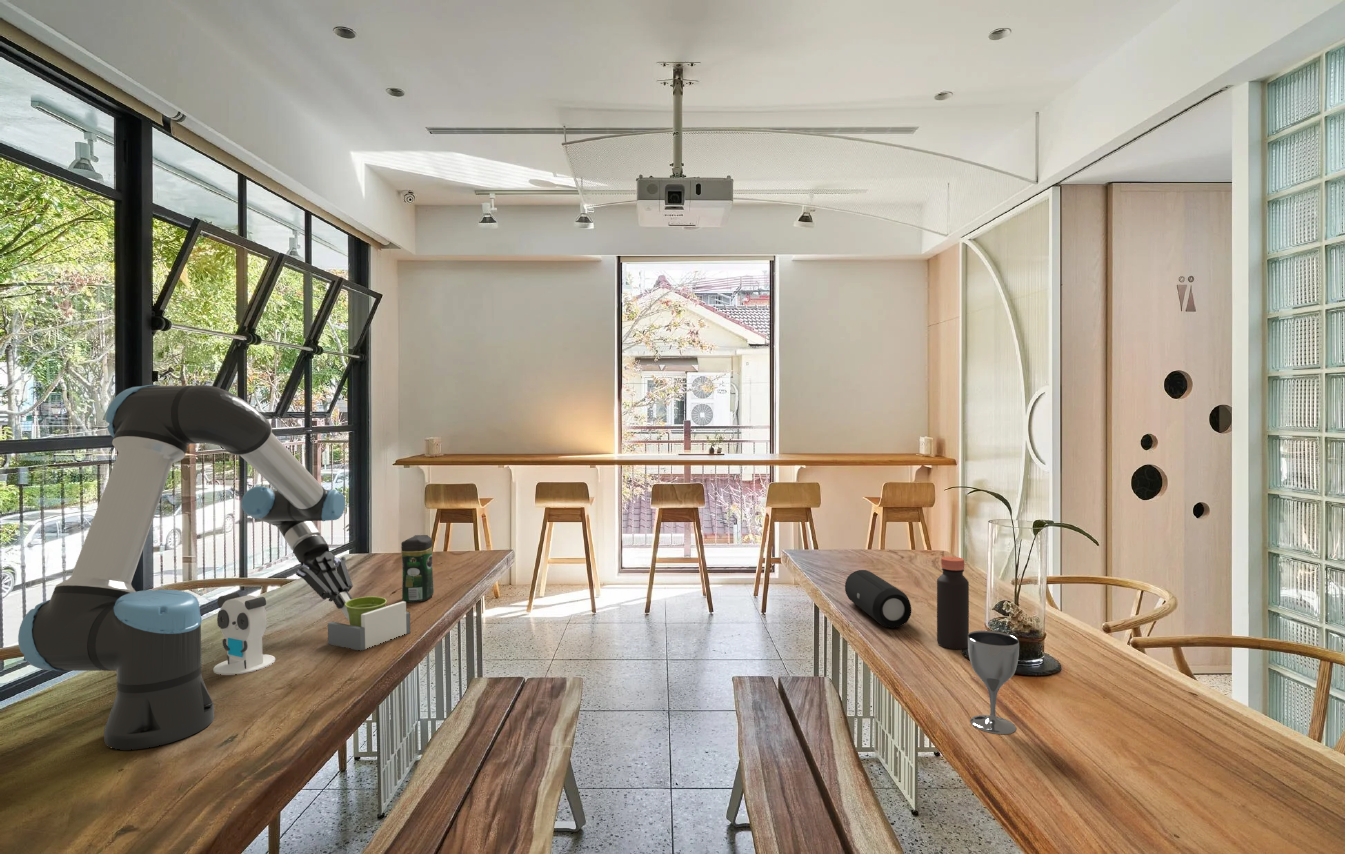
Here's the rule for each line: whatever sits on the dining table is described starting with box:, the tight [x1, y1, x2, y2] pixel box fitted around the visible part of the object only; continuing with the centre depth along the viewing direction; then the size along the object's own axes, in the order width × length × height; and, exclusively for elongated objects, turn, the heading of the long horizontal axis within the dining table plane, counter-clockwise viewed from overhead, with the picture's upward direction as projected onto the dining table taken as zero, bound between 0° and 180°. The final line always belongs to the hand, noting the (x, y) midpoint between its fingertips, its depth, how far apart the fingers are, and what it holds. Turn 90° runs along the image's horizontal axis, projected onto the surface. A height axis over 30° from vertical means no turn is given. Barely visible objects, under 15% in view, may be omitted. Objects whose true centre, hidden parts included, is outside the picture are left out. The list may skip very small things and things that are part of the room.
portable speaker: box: [844, 569, 912, 629], centre depth 179 cm, size 26×10×10 cm, turn 4°
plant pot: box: [345, 595, 388, 627], centre depth 164 cm, size 9×9×9 cm
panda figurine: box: [213, 592, 276, 676], centre depth 147 cm, size 12×11×15 cm
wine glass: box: [967, 630, 1020, 735], centre depth 116 cm, size 8×8×15 cm
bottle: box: [936, 556, 970, 650], centre depth 155 cm, size 7×7×20 cm
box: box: [327, 600, 411, 652], centre depth 164 cm, size 14×11×8 cm
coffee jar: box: [400, 534, 434, 603], centre depth 199 cm, size 10×8×19 cm
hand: (353, 616), depth 167 cm, fingers closed
